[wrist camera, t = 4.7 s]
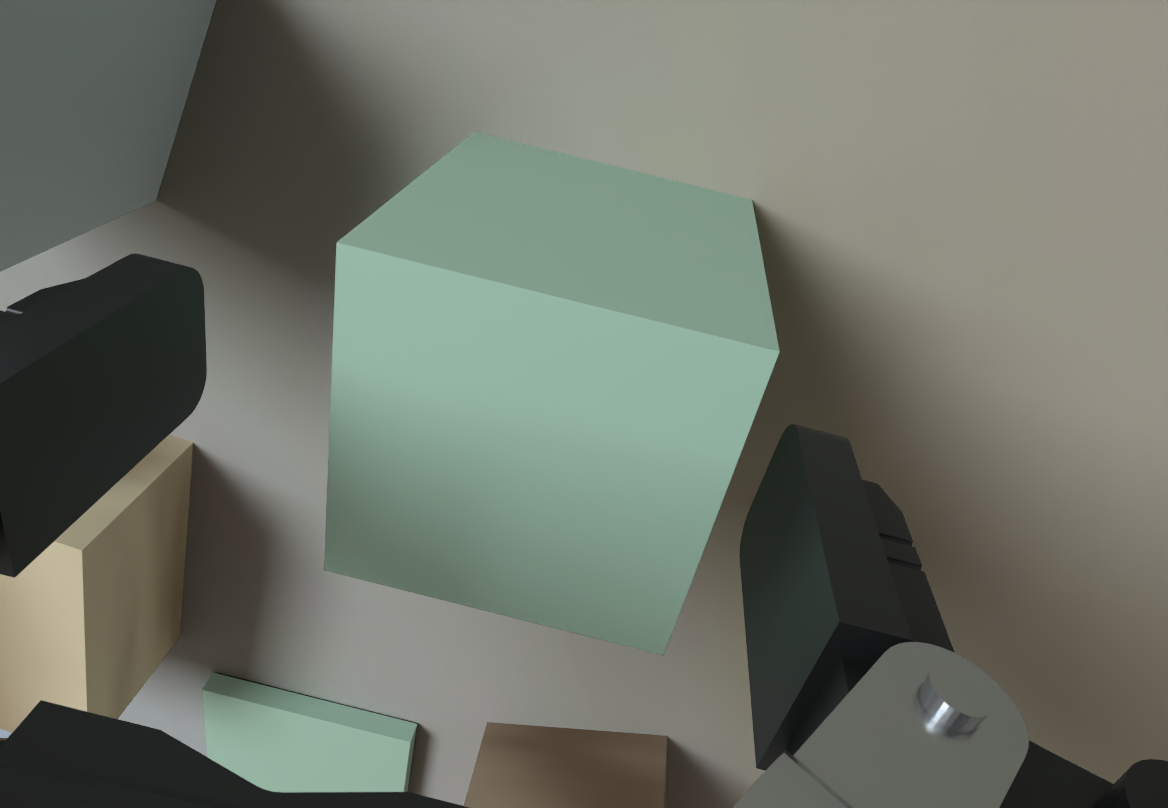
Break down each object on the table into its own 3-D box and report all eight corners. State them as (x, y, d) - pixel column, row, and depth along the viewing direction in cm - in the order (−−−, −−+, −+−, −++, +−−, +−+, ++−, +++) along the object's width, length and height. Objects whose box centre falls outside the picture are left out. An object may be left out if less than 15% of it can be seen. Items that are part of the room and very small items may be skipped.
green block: (751, 199, 14) (779, 350, 9) (677, 430, 16) (663, 655, 11) (475, 131, 14) (336, 241, 9) (444, 373, 16) (324, 570, 11)
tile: (417, 723, 22) (410, 742, 22) (400, 837, 25) (394, 856, 25) (213, 672, 22) (201, 689, 22) (221, 792, 25) (212, 810, 25)
